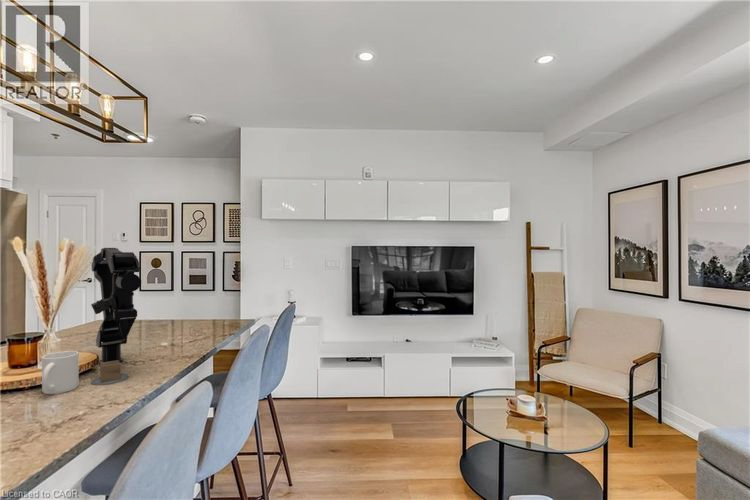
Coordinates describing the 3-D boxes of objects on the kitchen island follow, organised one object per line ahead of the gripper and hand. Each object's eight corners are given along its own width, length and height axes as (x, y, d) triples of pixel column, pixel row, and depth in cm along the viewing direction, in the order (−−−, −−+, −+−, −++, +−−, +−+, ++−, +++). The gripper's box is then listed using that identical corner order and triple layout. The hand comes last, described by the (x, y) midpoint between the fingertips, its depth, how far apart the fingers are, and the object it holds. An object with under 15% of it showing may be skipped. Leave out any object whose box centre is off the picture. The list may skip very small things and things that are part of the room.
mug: (59, 398, 105) (59, 361, 105) (25, 401, 104) (25, 363, 104) (84, 383, 117) (84, 350, 117) (53, 385, 116) (53, 351, 116)
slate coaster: (89, 378, 122) (89, 378, 122) (127, 372, 128) (127, 371, 128) (91, 387, 114) (91, 387, 114) (131, 380, 120) (131, 379, 120)
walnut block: (100, 378, 122) (100, 362, 122) (119, 375, 125) (119, 360, 125) (101, 382, 118) (101, 366, 118) (120, 379, 121) (120, 363, 121)
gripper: (91, 288, 131) (91, 334, 131) (94, 293, 117) (94, 345, 117) (130, 286, 138) (130, 330, 138) (137, 291, 124) (137, 339, 124)
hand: (122, 335), depth 129 cm, fingers open, 9 cm apart
